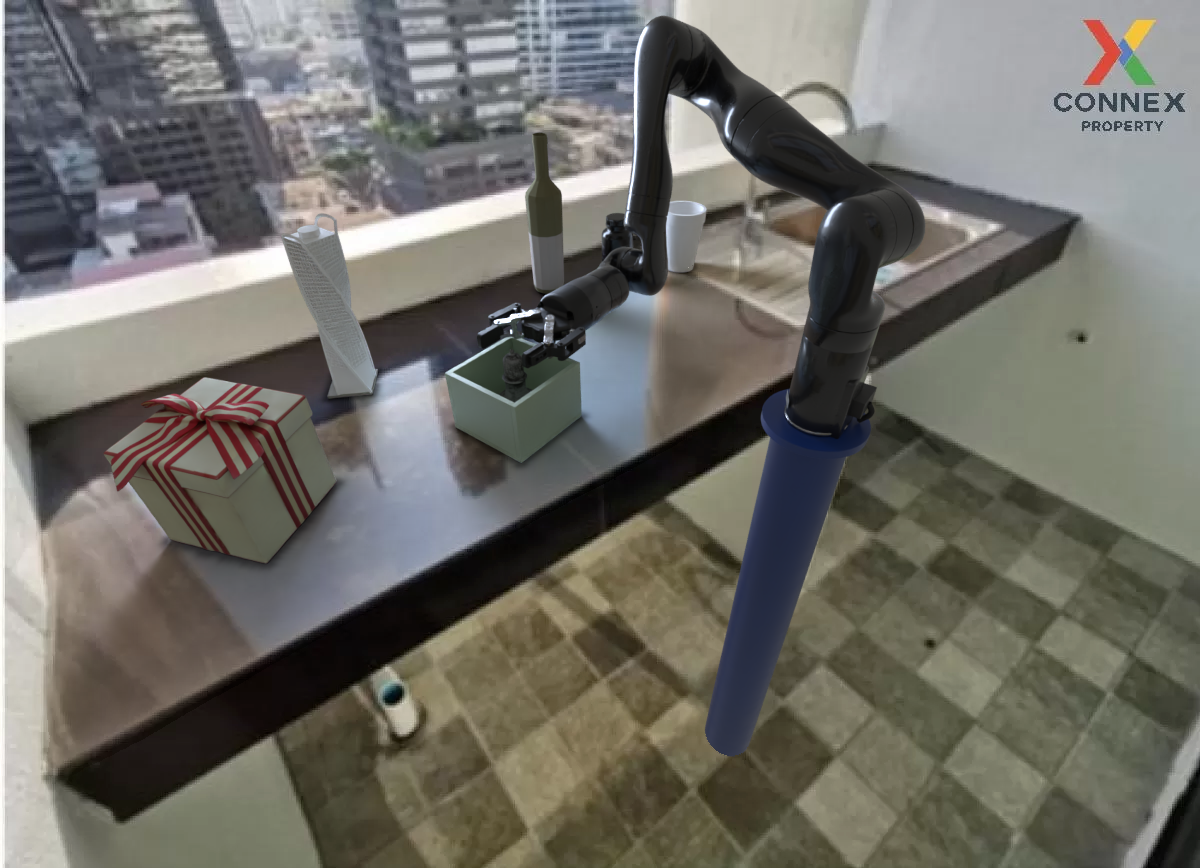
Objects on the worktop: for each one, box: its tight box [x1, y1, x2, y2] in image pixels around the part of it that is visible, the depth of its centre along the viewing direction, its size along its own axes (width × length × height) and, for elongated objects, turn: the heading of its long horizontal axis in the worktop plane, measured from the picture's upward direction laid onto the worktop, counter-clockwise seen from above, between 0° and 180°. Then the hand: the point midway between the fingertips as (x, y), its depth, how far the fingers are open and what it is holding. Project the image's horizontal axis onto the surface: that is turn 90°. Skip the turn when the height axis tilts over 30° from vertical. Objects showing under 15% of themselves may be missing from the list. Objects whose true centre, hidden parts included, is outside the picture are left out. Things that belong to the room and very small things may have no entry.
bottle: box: [524, 132, 565, 295], centre depth 118 cm, size 7×7×30 cm
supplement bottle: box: [601, 212, 634, 263], centre depth 130 cm, size 7×7×12 cm
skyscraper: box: [281, 212, 379, 399], centre depth 91 cm, size 8×8×28 cm
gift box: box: [103, 377, 337, 564], centre depth 71 cm, size 17×18×17 cm
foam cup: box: [666, 200, 707, 273], centre depth 131 cm, size 10×9×13 cm
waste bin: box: [444, 337, 583, 464], centre depth 89 cm, size 14×14×10 cm
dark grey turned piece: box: [499, 349, 533, 403], centre depth 88 cm, size 6×6×12 cm
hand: (501, 351), depth 82 cm, fingers open, 8 cm apart
